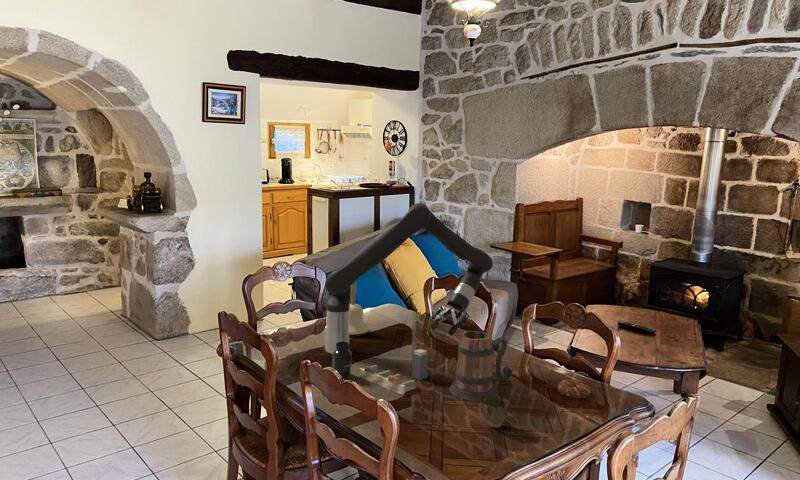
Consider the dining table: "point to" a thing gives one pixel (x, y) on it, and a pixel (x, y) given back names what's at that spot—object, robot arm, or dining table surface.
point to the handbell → (356, 315)
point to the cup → (496, 411)
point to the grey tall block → (420, 364)
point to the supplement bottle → (342, 359)
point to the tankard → (478, 366)
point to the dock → (386, 379)
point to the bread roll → (574, 389)
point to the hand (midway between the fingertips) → (441, 332)
